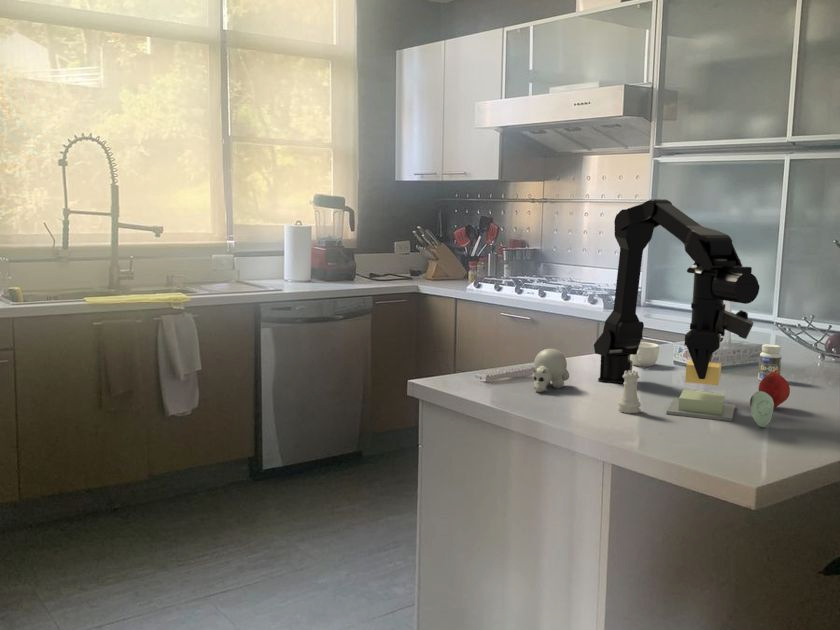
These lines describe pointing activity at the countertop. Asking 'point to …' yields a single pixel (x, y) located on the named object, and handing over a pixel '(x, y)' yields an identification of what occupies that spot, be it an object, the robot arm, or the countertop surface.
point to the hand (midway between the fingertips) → (703, 375)
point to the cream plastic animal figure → (549, 369)
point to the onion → (775, 387)
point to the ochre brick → (711, 375)
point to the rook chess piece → (630, 394)
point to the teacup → (645, 355)
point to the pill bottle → (769, 360)
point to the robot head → (761, 408)
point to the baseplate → (700, 415)
